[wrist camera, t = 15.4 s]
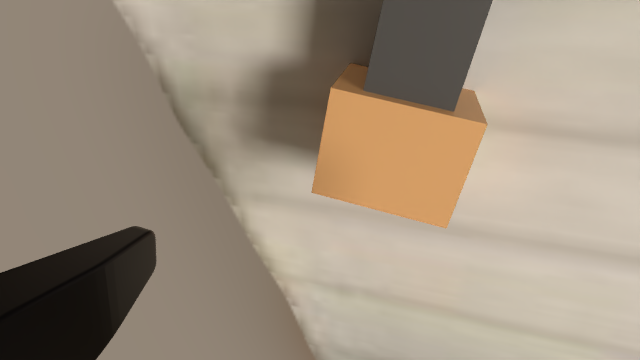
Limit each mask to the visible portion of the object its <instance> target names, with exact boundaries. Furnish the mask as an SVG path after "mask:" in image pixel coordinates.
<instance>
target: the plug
mask: <svg viewBox="0 0 640 360" xmlns="http://www.w3.org/2000/svg"><path fill="white" fill-rule="evenodd" d="M492 1H493V0H383V4H382V9H381V13H380V18H379V22H378V27H377V31H376V36H375V40H374V44H373V49H372V53H371V58H370V62H369V67H365V66H361V65H357V64H352V63H350V64H349V66H348V67H347V68H346V69H345V71H344V72H343V73H342V74H341V76H340V77H339V78H338V79H337V81H336V82H335V83H334V84H333V86H332V87H331V89H330V95H329V100H328V106H327V111H326V117H325V122H324V128H323V133H322V138H321V144H320V149H319V155H318V160H317V166H316V171H315V176H314V182H313V187H312V193H315V194H319V195H323V196H326V197H330V198H334V199H338V200H341V201H345V202H349V203H353V204H356V205H360V206H364V207H368V208H371V209H375V210H379V211H383V212H386V213H390V214H394V215H398V216H401V217H405V218H409V219H413V220H416V221H420V222H424V223H428V224H431V225H435V226H439V227H443V228H447V226H448V223H449V221H450V218H451V216H452V213H453V211H454V208H455V206H456V203H457V200H458V198H459V195H460V193H461V190H462V188H463V185H464V183H465V180H466V178H467V175H468V173H469V170H470V168H471V165H472V162H473V160H474V157H475V155H476V152H477V150H478V147H479V145H480V142H481V140H482V137H483V135H484V132H485V129H486V127H487V122H486V119H485V117H484V114H483V112H482V109H481V107H480V104H479V102H478V99H477V97H476V94H475V92H474V91H472V90H468V89H463V88H462V87H463V85H464V82H465V79H466V76H467V73H468V70H469V67H470V64H471V61H472V58H473V56H474V53H475V50H476V47H477V44H478V41H479V38H480V35H481V32H482V30H483V27H484V24H485V21H486V18H487V15H488V12H489V9H490V6H491V4H492Z"/></svg>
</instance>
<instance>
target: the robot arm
mask: <svg viewBox="0 0 640 360" xmlns="http://www.w3.org/2000/svg"><path fill="white" fill-rule="evenodd" d="M155 240H156V239H155V234H154V232H153V231H151V230H148V229H145V228H141V227H137V226H133V227H129V228H127V229H124V230H121V231H118V232H115V233H113V234H110V235H107V236H104V237H101V238H98V239H95V240H93V241H90V242H87V243H84V244H81V245H79V246H76V247H73V248H70V249H67V250H64V251H61V252H59V253H56V254H53V255H50V256H47V257H45V258H42V259H39V260H36V261H33V262H30V263H28V264H25V265H22V266H19V267H16V268H13V269H10V270H8V271H5V272H2V273H0V360H96V359H97V357H98V356H99V355H100V354H101V352H102V351H103V350H104V348H105V347H106V346H107V344H108V343H109V341H110V340H111V339H112V337H113V336H114V334H115V333H116V331H117V330H118V328H119V327H120V325H121V324H122V322H123V321H124V319H125V317H126V316H127V314H128V312H129V311H130V309H131V308H132V306H133V304H134V303H135V301H136V299H137V298H138V296H139V294H140V293H141V291H142V290H143V288H144V286H145V285H146V283H147V282H148V280H149V278H150V277H151V275H152V273H153V271H154V269H155V266H156V241H155Z"/></svg>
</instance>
